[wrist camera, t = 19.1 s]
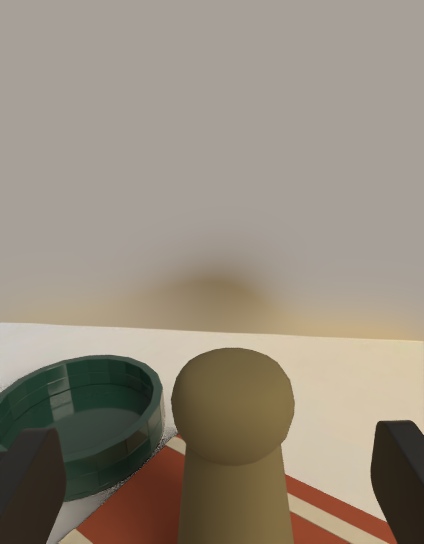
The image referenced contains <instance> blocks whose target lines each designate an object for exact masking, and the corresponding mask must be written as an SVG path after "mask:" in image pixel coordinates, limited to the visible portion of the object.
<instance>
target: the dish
mask: <svg viewBox="0 0 424 544" xmlns="http://www.w3.org/2000/svg"><path fill="white" fill-rule="evenodd" d="M164 426H165V408H164V396H163V387H162V384H161V381H160V379H159V376H158V374H157V373H156V372H155V371H154V370H153V369H151V368H150V367H149V366H148V365H147V364H145V363H142V362H140V361H137V360H135V359H132V358H129V357H122V356H115V355H93V356H84V357H79V358H74V359H68V360H63V361H60V362H57V363H54V364H51V365H49V366H46V367H43V368H40V369H38V370H36V371H34V372H32V373H30V374H28V375H26V376H24V377H22V378H20V379H19V380H17V381H16V382H14V383H13V384H12V385H10V386H9V387H8V388H6V389H5V390H4V391H2V392H1V393H0V452H4V451H8V449H9V448H10V446H11V445H12V443H13V442H14V440H15V439H16V437H17V436H18V434H19V433H20V432H21V431H22V430H23V429H26V428H56V429H57V431H58V433H59V438H60V443H61V449H62V454H63V460H64V465H65V470H66V477H67V484H66V492H65V497H64V500H63V502H65V501H71V500H76V499H80V498H84V497H87V496H90V495H93V494H96V493H98V492H100V491H103V490H105V489H107V488H110V487H111V486H113V485H115V484H117V483H119V482H121V481H122V480H124V479H125V478H127V477H128V476H129V475H131V474H132V473H133V472H135V471H136V470H137V469H138V468H139V467H141V466H142V465H143V464H144V463H145V462H146V461H147V460H148V459H149V457H150V456H151V455H152V453H153V452H154V451H155V449H156V448H157V446H158V444H159V442H160V440H161V437H162V435H163V431H164Z"/></svg>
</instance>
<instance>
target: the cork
mask: <svg viewBox="0 0 424 544" xmlns="http://www.w3.org/2000/svg"><path fill="white" fill-rule="evenodd" d="M171 404H172V413H173V417H174V422H175V425H176V428H177V430H178V433H179V435H180V436H181V438H182V439H183V440H184V442H185V443H186V450H185V461H184V472H183V483H182V494H181V505H180V516H179V527H178V538H177V544H294V540H293V532H292V525H291V517H290V510H289V502H288V495H287V487H286V480H285V472H284V464H283V457H282V449H281V443H282V442H283V441H284V440H285V439H286V436H287V434H288V431H289V428H290V425H291V422H292V419H293V416H294V405H295V402H294V396H293V391H292V387H291V383H290V379H289V378H288V376H287V375H286V374H285V372H284V371H283V369H282V368H281V367H280V365H279V364H278V363H277V362H276V361H275V360H273V359H272V358H270V357H269V356H267V355H264V354H261V353H259V352H256V351H253V350H249V349H243V348H222V349H215V350H212V351H209V352H206V353H203V354H200V355H198V356H196V357H195V358H193V359H191V360H190V361H189V362H188V363H187V364H186V365H185V366H184V367H183V368H182V370H181V371H180V373H179V374H178V376H177V378H176V381H175V384H174V388H173V392H172V397H171Z"/></svg>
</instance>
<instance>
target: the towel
mask: <svg viewBox="0 0 424 544" xmlns="http://www.w3.org/2000/svg"><path fill="white" fill-rule="evenodd" d="M185 450H186V443H185V442H184V440H183V439H182V438H181V436H180V435H179V433H178V434H177V435H176V436H173V437H172V438H171V439H170V440H169V441H168V442H167V443H166V444H165V446H164V447H163V448H162V449H161V450H160V451H159V452H158V453H157V454H156V455H155V456H154V457H153V458H152V459H150V460H149V461H148V462H147V463H146V464H145V465H144V466H143V467H142V468H141V469H140V470H139V471H138V472H137V473H135V474H134V475H133V476H132V477H131V478H130V479H129V480H128V481H127V482H126V483H125V484H124V485H123V486H121V487H120V488H119V489H118V490H117V491H116V492H115V493H114V494H113V495H112V496H111V497H110V498H109V499H108V500H106V501H105V502H104V503H103V504H102V505H101V506H100V507H99V508H98V509H97V510H96V511H95V512H94V513H92V514H91V515H90V516H89V517H88V518H87V519H86V520H85V521H84V522H83V523H82V524H81V525H80V526H79V527H77V528H76V529H75V528H74V529H73V530H72V531H71V532H70V533H68V534H67V535H66V536H65V537H64V538H63V539H62V540H61V541H60V542H59V543H58V544H177V538H178V527H179V516H180V505H181V494H182V483H183V472H184V461H185ZM285 480H286V487H287V495H288V502H289V510H290V517H291V525H292V532H293V540H294V544H397V542H396V539H395V537H394V535H393V533H392V531H391V529H390V527H389V525H388V523H387V522H385V521H383V520H381V519H378V518H376V517H374V516H372V515H370V514H368V513H366V512H364V511H362V510H360V509H357V508H355V507H353V506H351V505H349V504H347V503H345V502H343V501H341V500H338V499H336V498H334V497H332V496H330V495H328V494H326V493H324V492H322V491H320V490H317V489H315V488H313V487H311V486H309V485H307V484H305V483H303V482H301V481H298V480H296V479H294V478H292V477H290V476H288V475H286V474H285Z"/></svg>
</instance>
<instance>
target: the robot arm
mask: <svg viewBox="0 0 424 544" xmlns="http://www.w3.org/2000/svg"><path fill="white" fill-rule="evenodd" d="M371 482H372V487H373V491H374V494H375V496H376V499H377V501H378V503H379V505H380V507H381V510H382V512H383V514H384V516H385V518H386V520H387V522H388V525H389V527H390V529H391V531H392V533H393V535H394V537H395V539H396V542H397V544H424V435H423V434H422V432H421V431H420V430H419V428H418V427H417V426H416V424H415V423H414V422H413V421H411V420H398V421H379V422H378V423H377V425H376V431H375V438H374V446H373V454H372V462H371ZM66 484H67V477H66V470H65V465H64V460H63V454H62V449H61V443H60V438H59V433H58V431H57V429H56V428H26V429H23V430H22V431H21V432H20V433H19V434H18V436H17V437H16V439H15V440H14V442H13V443H12V445H11V446H10V448H9V449H8V451H4V452H0V544H46V542H47V540H48V537H49V535H50V533H51V530H52V528H53V525H54V523H55V521H56V518H57V516H58V513H59V511H60V508H61V506H62V503H63V500H64V497H65V492H66Z"/></svg>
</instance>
